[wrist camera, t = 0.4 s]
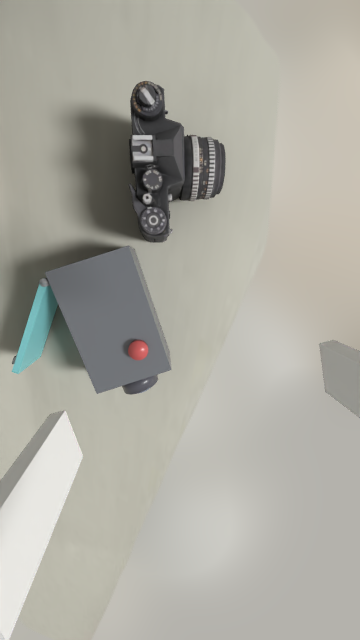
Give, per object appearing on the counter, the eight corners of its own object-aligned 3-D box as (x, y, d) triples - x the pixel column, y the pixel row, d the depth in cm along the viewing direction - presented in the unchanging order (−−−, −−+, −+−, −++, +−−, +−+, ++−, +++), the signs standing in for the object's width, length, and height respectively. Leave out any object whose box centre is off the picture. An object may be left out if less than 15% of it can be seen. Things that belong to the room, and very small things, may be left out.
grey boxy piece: (64, 271, 35) (38, 273, 28) (134, 249, 36) (127, 245, 28) (112, 386, 40) (100, 414, 32) (174, 365, 40) (177, 389, 32)
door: (54, 272, 35) (32, 273, 29) (67, 277, 35) (49, 280, 29) (28, 352, 37) (3, 369, 31) (41, 357, 37) (19, 374, 31)
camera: (215, 240, 36) (235, 231, 27) (139, 244, 36) (131, 236, 26) (213, 127, 33) (235, 70, 23) (129, 129, 32) (116, 71, 23)
